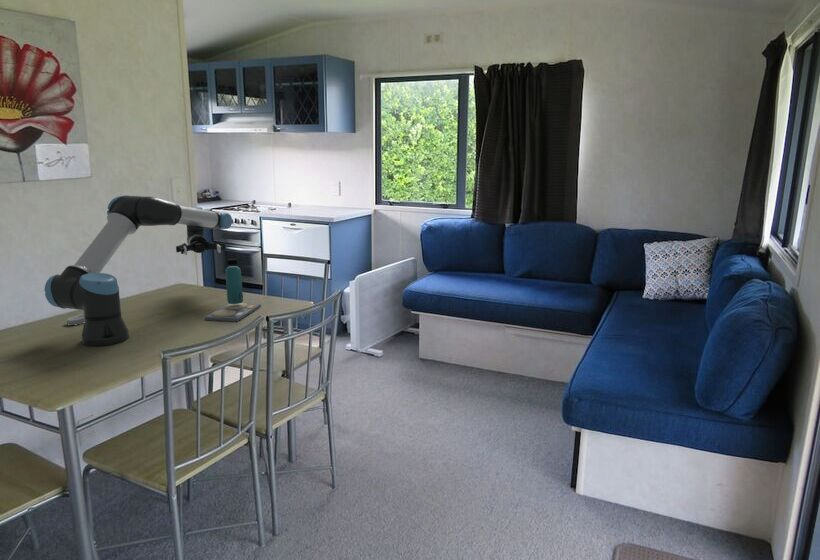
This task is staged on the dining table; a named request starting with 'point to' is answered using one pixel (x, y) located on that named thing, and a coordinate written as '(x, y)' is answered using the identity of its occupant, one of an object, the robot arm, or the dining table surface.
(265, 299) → the dining table surface
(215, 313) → the dark grey flat block
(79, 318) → the electronic device
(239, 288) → the beverage bottle
